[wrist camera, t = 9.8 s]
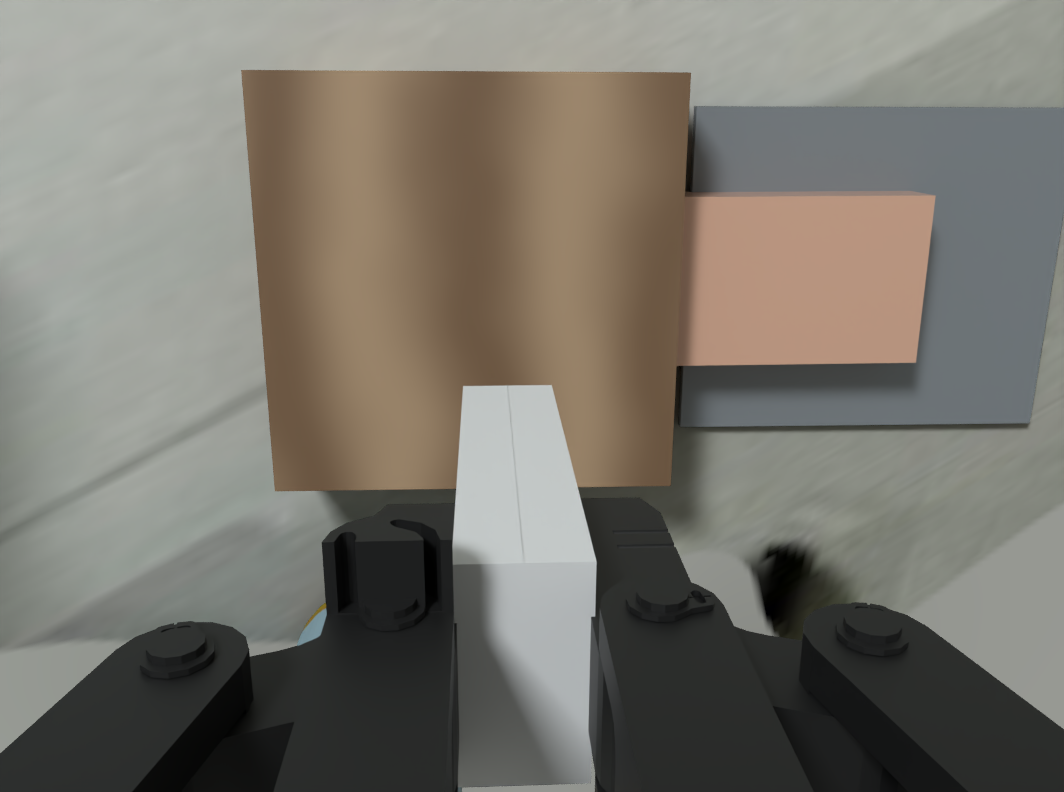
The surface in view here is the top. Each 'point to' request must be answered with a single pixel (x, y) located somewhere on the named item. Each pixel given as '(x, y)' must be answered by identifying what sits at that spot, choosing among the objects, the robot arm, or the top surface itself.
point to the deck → (465, 264)
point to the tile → (803, 277)
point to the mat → (953, 263)
